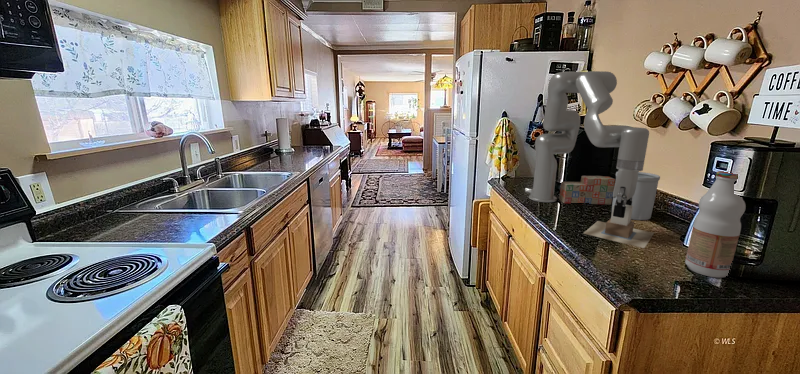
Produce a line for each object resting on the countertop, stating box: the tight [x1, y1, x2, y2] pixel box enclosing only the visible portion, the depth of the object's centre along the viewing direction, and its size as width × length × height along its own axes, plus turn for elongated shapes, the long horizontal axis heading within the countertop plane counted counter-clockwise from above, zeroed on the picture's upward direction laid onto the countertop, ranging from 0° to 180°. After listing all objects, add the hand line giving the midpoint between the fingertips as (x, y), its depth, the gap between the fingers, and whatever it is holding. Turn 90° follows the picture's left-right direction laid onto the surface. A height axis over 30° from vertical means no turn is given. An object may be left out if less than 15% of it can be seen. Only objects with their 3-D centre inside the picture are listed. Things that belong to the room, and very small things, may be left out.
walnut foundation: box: [605, 218, 635, 238], centre depth 119 cm, size 7×7×4 cm
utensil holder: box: [611, 171, 661, 221], centre depth 140 cm, size 15×15×18 cm
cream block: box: [610, 205, 633, 226], centre depth 118 cm, size 5×5×6 cm
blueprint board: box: [583, 220, 655, 249], centre depth 120 cm, size 18×18×1 cm
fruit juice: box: [684, 170, 747, 278], centre depth 92 cm, size 9×9×28 cm
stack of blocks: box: [558, 175, 616, 205], centre depth 159 cm, size 21×6×12 cm, turn 86°
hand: (621, 213), depth 118 cm, fingers open, 9 cm apart
